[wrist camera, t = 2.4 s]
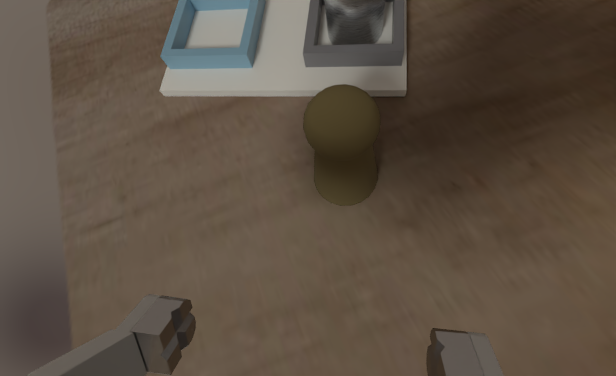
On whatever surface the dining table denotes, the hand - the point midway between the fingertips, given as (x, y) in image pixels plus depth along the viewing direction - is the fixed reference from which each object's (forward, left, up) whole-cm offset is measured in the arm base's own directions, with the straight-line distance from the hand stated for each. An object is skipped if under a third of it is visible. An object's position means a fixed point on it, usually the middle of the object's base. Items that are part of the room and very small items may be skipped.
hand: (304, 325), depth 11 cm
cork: (0, -12, -17) cm, 21 cm away
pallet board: (+8, -29, -16) cm, 35 cm away
